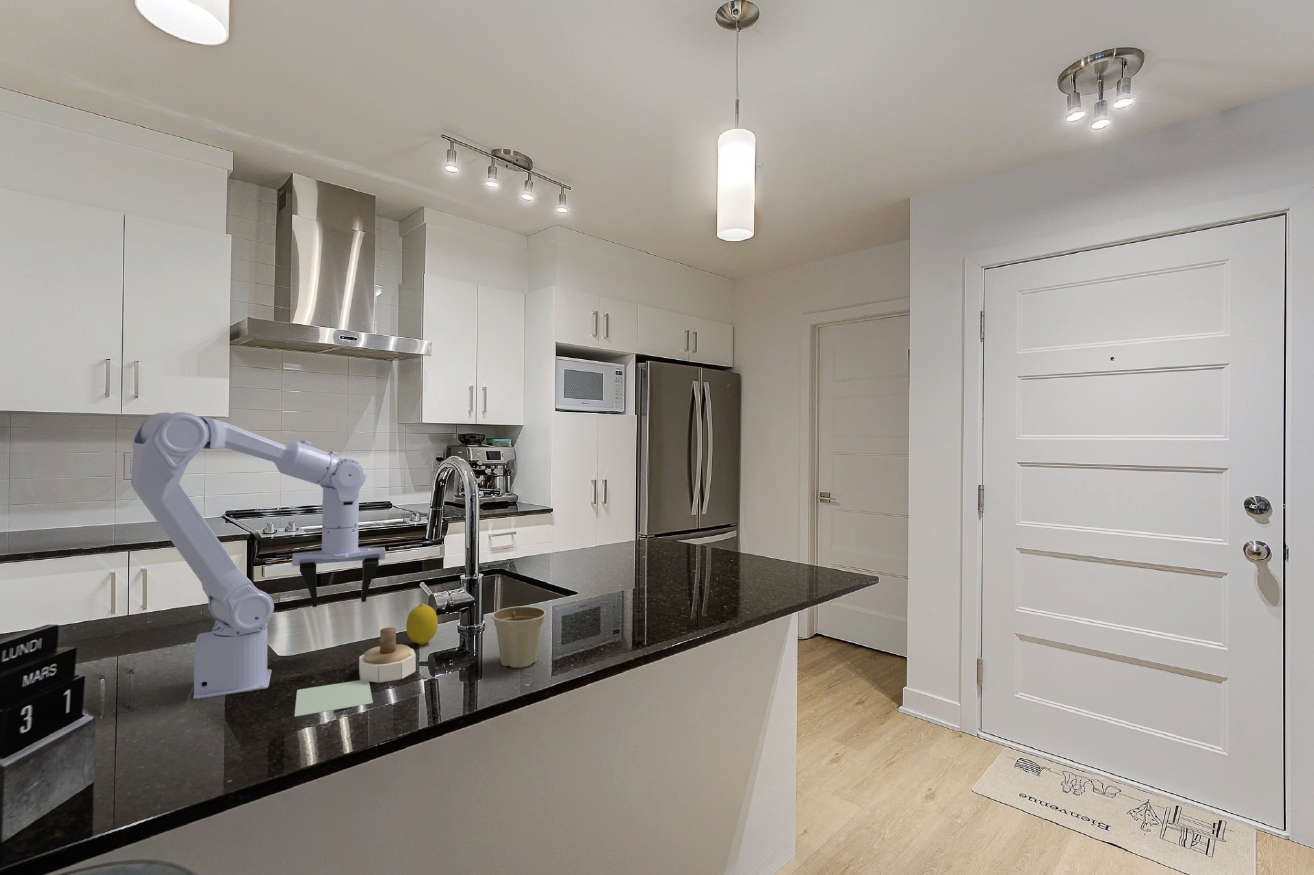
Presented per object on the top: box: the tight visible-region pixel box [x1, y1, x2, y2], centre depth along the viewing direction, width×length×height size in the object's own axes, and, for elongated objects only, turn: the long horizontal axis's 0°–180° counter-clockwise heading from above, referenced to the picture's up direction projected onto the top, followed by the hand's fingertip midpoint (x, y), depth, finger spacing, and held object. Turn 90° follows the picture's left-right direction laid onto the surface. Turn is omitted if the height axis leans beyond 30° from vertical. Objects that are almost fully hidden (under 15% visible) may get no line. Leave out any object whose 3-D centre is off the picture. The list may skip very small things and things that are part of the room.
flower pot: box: [491, 605, 547, 669], centre depth 110 cm, size 9×9×9 cm
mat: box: [294, 679, 374, 718], centre depth 94 cm, size 10×10×1 cm
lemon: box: [406, 602, 439, 646], centre depth 118 cm, size 6×6×8 cm
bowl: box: [358, 648, 417, 683], centre depth 104 cm, size 8×8×3 cm
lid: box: [364, 627, 411, 664], centre depth 104 cm, size 7×7×4 cm
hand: (339, 603), depth 110 cm, fingers open, 7 cm apart
